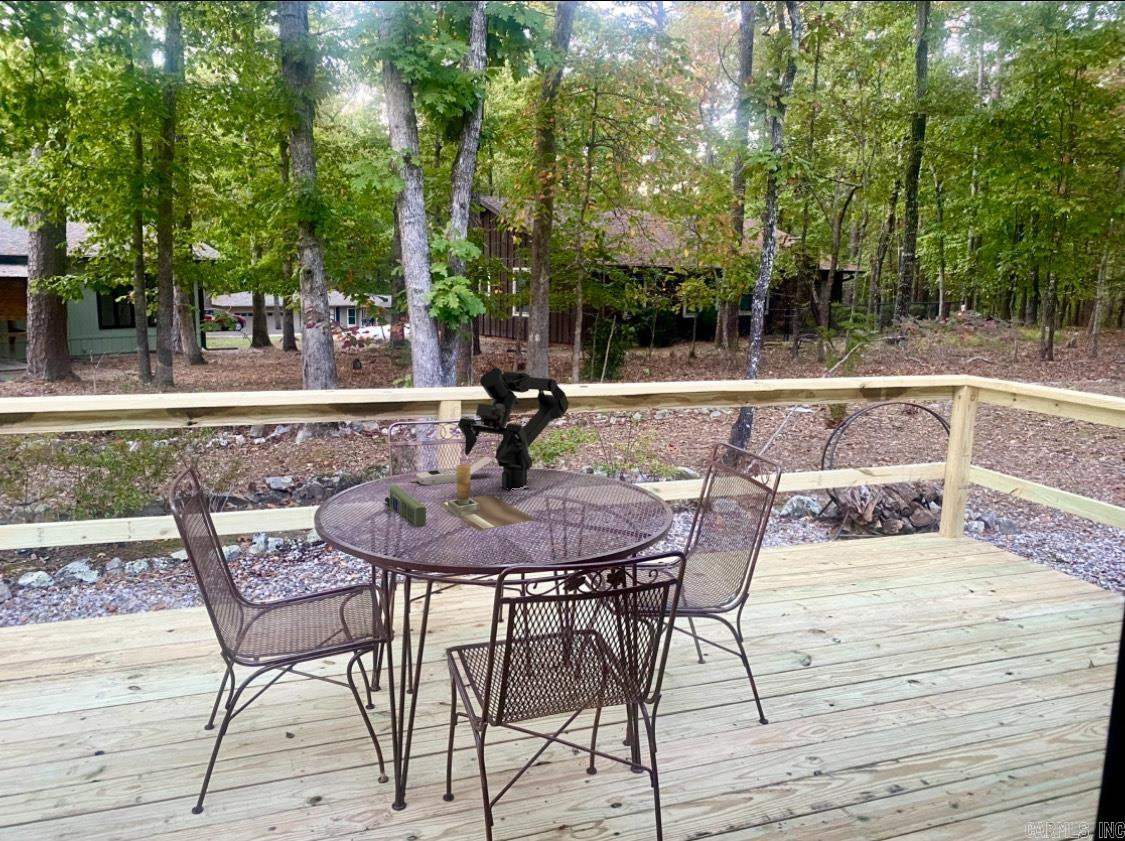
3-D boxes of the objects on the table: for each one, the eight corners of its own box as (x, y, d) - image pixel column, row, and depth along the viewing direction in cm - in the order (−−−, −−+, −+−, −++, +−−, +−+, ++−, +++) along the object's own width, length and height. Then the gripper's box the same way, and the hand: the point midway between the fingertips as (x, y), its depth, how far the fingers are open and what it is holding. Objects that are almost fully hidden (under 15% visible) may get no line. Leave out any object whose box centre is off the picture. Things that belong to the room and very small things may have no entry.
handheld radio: (414, 534, 176) (380, 504, 196) (427, 532, 178) (392, 503, 198) (414, 507, 175) (380, 480, 195) (427, 506, 176) (392, 479, 197)
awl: (469, 508, 189) (469, 464, 187) (471, 513, 186) (471, 467, 184) (456, 509, 189) (455, 464, 186) (457, 513, 185) (457, 468, 183)
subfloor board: (491, 499, 202) (491, 486, 201) (535, 524, 184) (535, 509, 183) (438, 509, 193) (438, 494, 193) (478, 536, 175) (478, 520, 174)
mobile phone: (495, 459, 222) (414, 468, 211) (494, 478, 223) (415, 487, 212) (487, 455, 228) (408, 463, 216) (487, 473, 229) (409, 482, 217)
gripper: (461, 388, 199) (439, 436, 192) (522, 395, 192) (502, 444, 185) (475, 412, 208) (455, 458, 200) (534, 419, 201) (516, 467, 193)
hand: (481, 456), depth 195 cm, fingers open, 9 cm apart
